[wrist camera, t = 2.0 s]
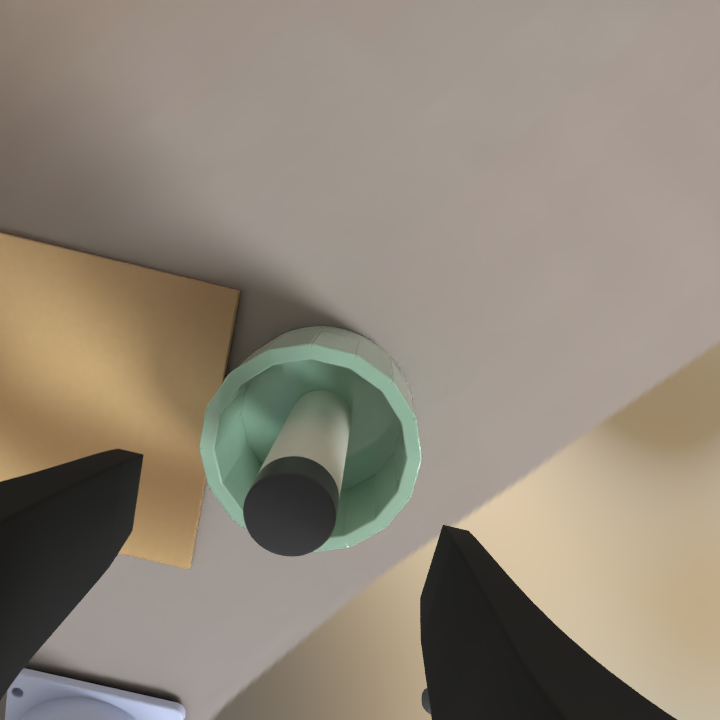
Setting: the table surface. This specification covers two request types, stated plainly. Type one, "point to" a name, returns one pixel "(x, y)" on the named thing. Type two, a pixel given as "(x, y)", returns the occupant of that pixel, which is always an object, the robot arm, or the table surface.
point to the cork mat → (112, 377)
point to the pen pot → (274, 403)
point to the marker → (301, 478)
